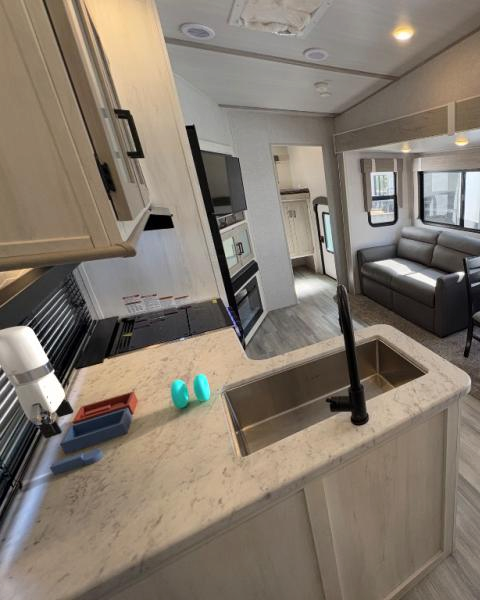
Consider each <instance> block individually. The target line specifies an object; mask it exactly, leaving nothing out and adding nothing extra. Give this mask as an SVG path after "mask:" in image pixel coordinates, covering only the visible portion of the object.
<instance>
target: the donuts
mask: <svg viewBox="0 0 480 600" xmlns="http://www.w3.org/2000/svg"><path fill="white" fill-rule="evenodd" d="M192 383H193V384H192V386H193V392H194V394H195V397H196V399H197V400H198V401H200V402H206V401H208V400H209V398H210V395H211V393H210V392H211V391H210V385H209V382H208V378H207V377H206V375H205V374H203V373H199V374H197V375H195V376H194V378H193V382H192ZM170 395H171V400H172V403H173V405H174V406H175V408H177V409H183V408H185V407H186V406H187V405H188V403H189V399H190V394H189V388H188V386H187V384H186V383H185V382H184V381H183V380H181V379H176V380H174V381H172V383H171V386H170Z"/></svg>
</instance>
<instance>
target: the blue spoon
mask: <svg viewBox="0 0 480 600" xmlns="http://www.w3.org/2000/svg"><path fill="white" fill-rule="evenodd" d="M103 457H104V454H103V452H102V450H101V449H100V448H96V449H95V448H94V449H93V450H90V451H88V452H86V453H85V454H84V452H80V453H78V454H75V455H72V456H69V457H65V458H64V459H60V460H58V461H54V462H52V463H51V465H50V467H49V469H50V471H51V472H52V474H53V475H54V476H56V475H58V474H62V473H65V472H67V471H69V470H72V469H75V468H78V467H80V466H83V465H85V466H89V465H93V464H95V463H97V462H98V461H100V460H101V459H102V458H103Z"/></svg>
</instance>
